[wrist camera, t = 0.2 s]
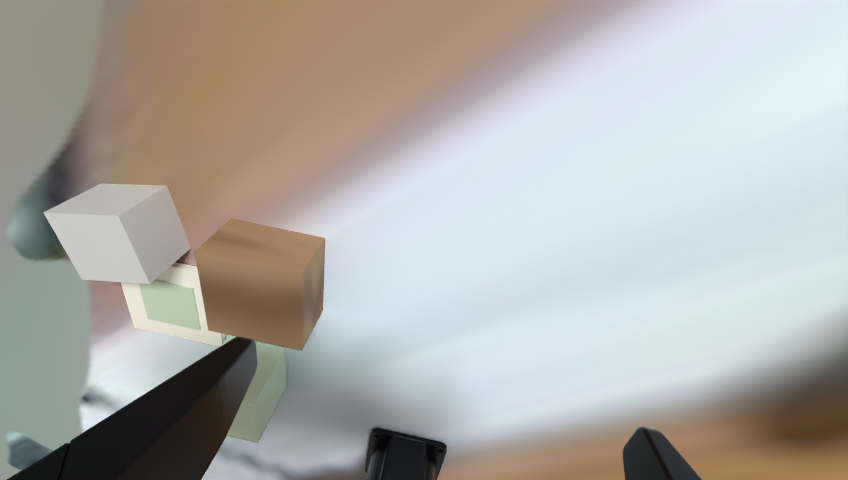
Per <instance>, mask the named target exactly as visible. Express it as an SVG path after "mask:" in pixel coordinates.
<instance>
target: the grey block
mask: <svg viewBox="0 0 848 480" xmlns="http://www.w3.org/2000/svg"><path fill="white" fill-rule="evenodd" d="M44 214H45V216H46V218H47V219H48V221H49V223H50V225H51V226H52V228H53V230H54V232H55V233H56V235H57V237H58V239H59V240H60V242H61V244H62V246H63V247H64V249H65V251H66V253H67V254H68V256H69V258H70V260H71V261H72V263H73V265H74V267H75V268H76V270H77V272H78V274H79V275H80V277H81V279H83V280H98V281H113V282H128V283H143V284H151V283H152V282H153V281H154V280H155V279H156V278H157V277H159V276H160V275H161V274H162V273H163V272H164V271H165V270H167V269H168V268H169V267H170V266H171V265H172V264H173V263H175V262H176V261H177V260H178V259H179V258H180V257H181V256H183V255H184V254H185V253H186V252H187V251H188V250H189V249H191V248H190V245H189V242H188V240H187V237H186V235H185V232H184V229H183V227H182V224H181V221H180V219H179V216H178V213H177V211H176V208H175V206H174V203H173V200H172V198H171V195H170V192H169V190H168V187H167V186H156V185H127V184H99V185H97V186H95V187H93V188H91V189H89V190H87V191H85V192H83V193H81V194H79V195H78V196H76V197H74V198H72V199H70V200H68V201H66V202H64V203H62V204H60V205H58V206H56V207H54V208H52V209H50V210H48V211H46V212H44Z"/></svg>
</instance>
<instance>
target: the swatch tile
mask: <svg viewBox="0 0 848 480" xmlns="http://www.w3.org/2000/svg"><path fill="white" fill-rule="evenodd" d="M121 285H122V288H123V291H124V295H125V298H126V301H127V305H128V308H129V311H130V315H131V318H132V321H133V324H134V328H138V329H143V330H147V331H152V332H156V333H161V334H165V335H170V336H174V337H179V338H183V339H187V340H192V341H196V342H201V343H205V344H210V345H214V346H219V347H220V346H221V345H222V344H223V343H224V341H225V340H226V339H225V334H222V333H217V332H213V331H208V326H207V320H206V315H205V309H204V303H203V297H202V292H201V286H200V280H199V275H198V269H197V267H196V266H191V265H186V264H182V263H177V262H175V263H173V264H172V265H171V266H170V267H169V268H168V269H167V270H165V271H164V272H163V273H162V274H161V275H160V276H159V277H157V278H156V279H155V280H154V281H153V282H152V283H151V284H143V283H128V282H121Z"/></svg>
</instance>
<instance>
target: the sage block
mask: <svg viewBox="0 0 848 480" xmlns="http://www.w3.org/2000/svg"><path fill="white" fill-rule="evenodd" d="M233 338H235V337H231V336H228V337H227V339H226V340H225V341H224V343H223V344H222V345H224V344H225V343H227V342H228V341H230V340H232V339H233ZM222 345H221V346H222ZM256 349H257V369H256V372H255V375H254V377H253V379H252V381H251V383H250V386H249V388H248V390H247V392H246V394H245V397H244V399H243V401H242V403H241V405H240V408H239V410H238V412H237V414H236V416H235V419H234V421H233V423H232V425H231V427H230V429H229V432H228V434H227V436H230V437H235V438H239V439H243V440H248V441H252V442H257V443H258V442H259V440H260V438H261V436H262V434H263V432H264V430H265V428H266V426H267V424H268V422H269V420H270V418H271V416H272V414H273V412H274V410H275V408H276V406H277V404H278V403H279V401H280V399H281V397H282V395H283V393H284V391H285V389H286V387H287V379H286V349H285V348H281V347H276V346H272V345H267V344H263V343H258V342H256Z"/></svg>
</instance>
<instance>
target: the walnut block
mask: <svg viewBox="0 0 848 480" xmlns="http://www.w3.org/2000/svg"><path fill="white" fill-rule="evenodd" d="M195 258H196V263H197V269H198V275H199V280H200V286H201V292H202V297H203V303H204V309H205V315H206V320H207V326H208V331H213V332H217V333H222V334H227V335H231V336H236V337H238V336H241V337H246V338H250V339H253V340H255V341H259V342H264V343H268V344H273V345H278V346H282V347H287V348H291V349H296V350H301V351H302V349H303V347H304V346H305V344H306V342H307V340H308V338H309V336H310V334H311V332H312V330H313V328H314V326H315V324H316V322H317V320H318V318H319V316H320V315H321V313H322V311H323V290H324V258H325V238H322V237H317V236H312V235H308V234H303V233H298V232H293V231H288V230H284V229H279V228H274V227H269V226H264V225H260V224H255V223H250V222H245V221H240V220H235V219H231V220H230V221H228V222H227V223H226V224H225V225H224V226H223V227H222V228H221V229H219V230H218V231H217V232H216V233H215V234H214V235H213V236H212V237H210V238H209V239H208V240H207V241H206V242H205V243H204V244H203V245H202V246H200V247H199V248H198V249H197V250H196V251H195Z"/></svg>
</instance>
